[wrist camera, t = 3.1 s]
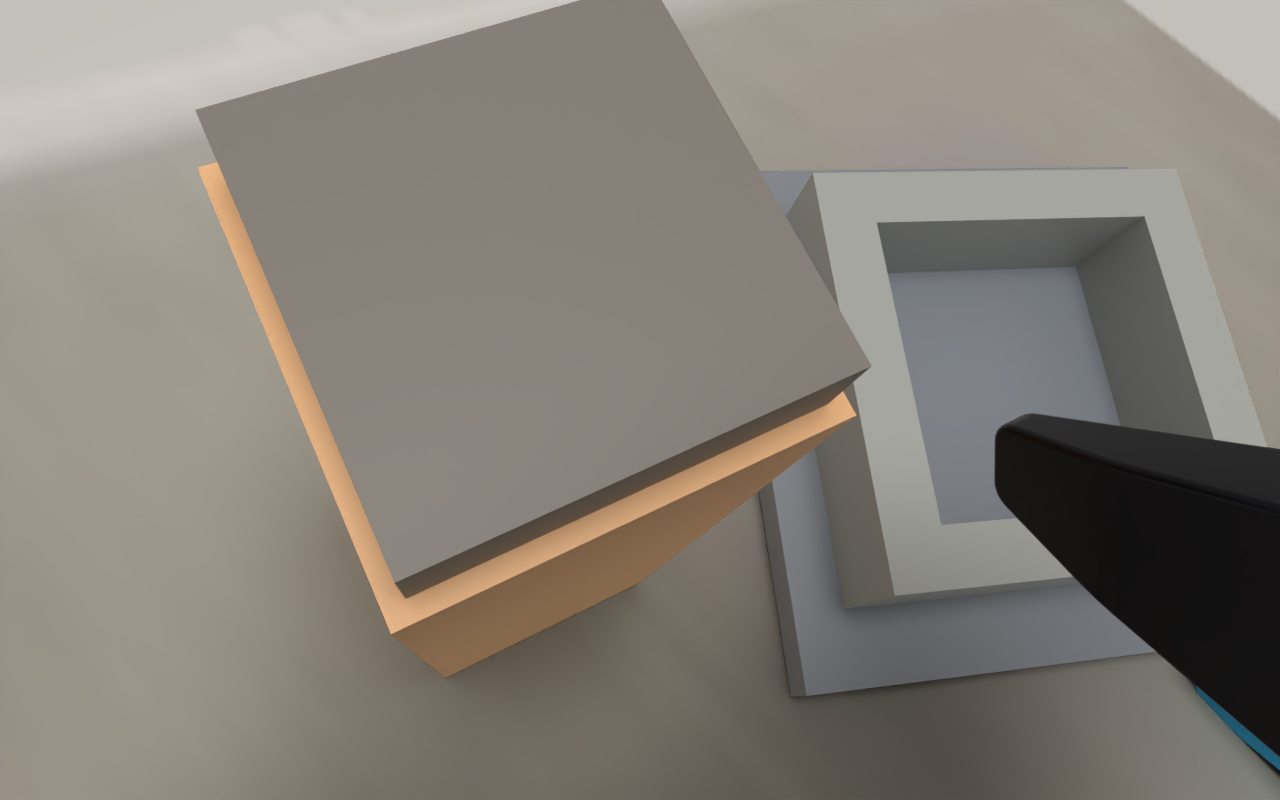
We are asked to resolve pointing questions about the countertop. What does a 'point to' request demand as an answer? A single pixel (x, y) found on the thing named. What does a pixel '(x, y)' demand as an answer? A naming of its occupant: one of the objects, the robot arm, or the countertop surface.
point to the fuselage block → (527, 312)
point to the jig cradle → (980, 406)
